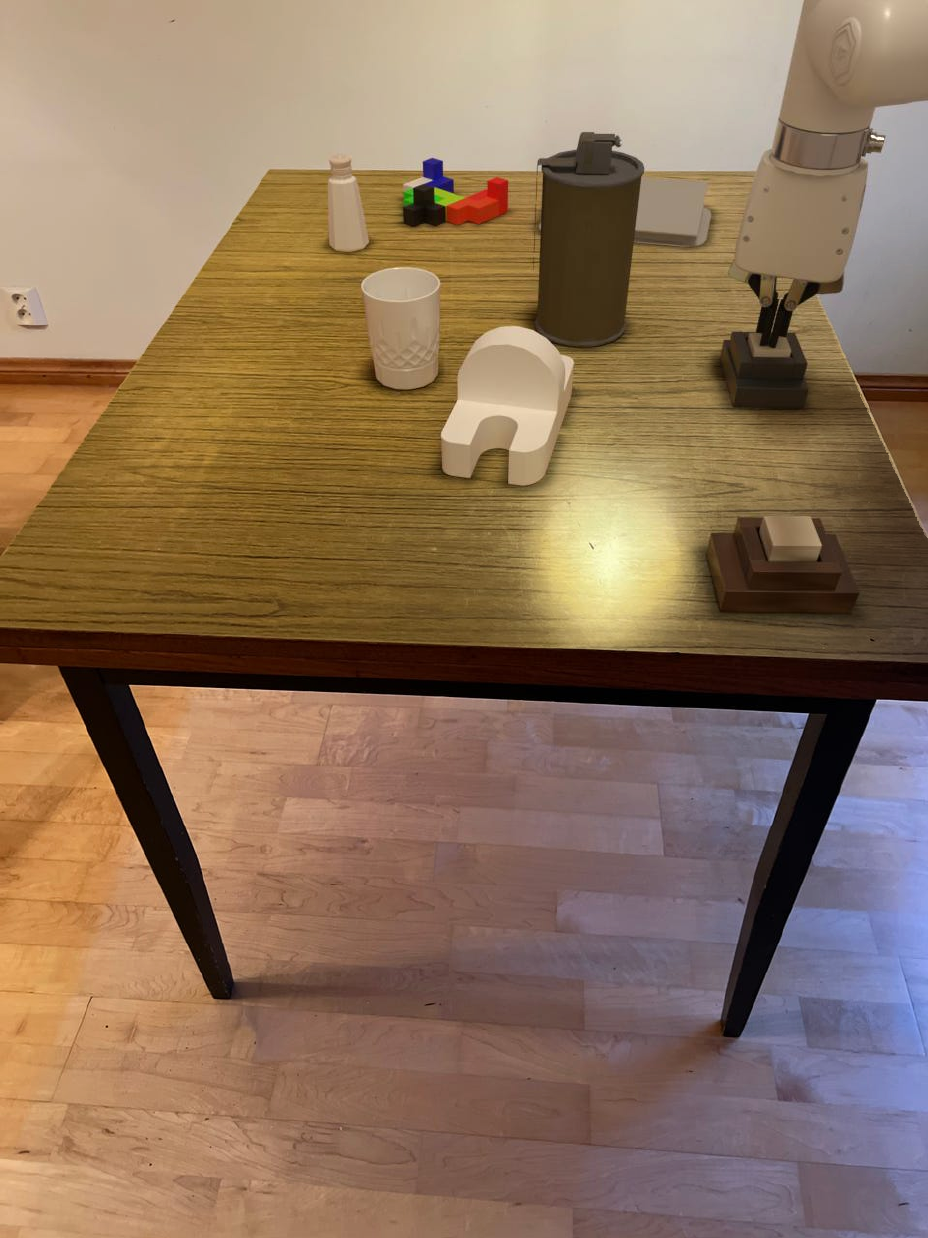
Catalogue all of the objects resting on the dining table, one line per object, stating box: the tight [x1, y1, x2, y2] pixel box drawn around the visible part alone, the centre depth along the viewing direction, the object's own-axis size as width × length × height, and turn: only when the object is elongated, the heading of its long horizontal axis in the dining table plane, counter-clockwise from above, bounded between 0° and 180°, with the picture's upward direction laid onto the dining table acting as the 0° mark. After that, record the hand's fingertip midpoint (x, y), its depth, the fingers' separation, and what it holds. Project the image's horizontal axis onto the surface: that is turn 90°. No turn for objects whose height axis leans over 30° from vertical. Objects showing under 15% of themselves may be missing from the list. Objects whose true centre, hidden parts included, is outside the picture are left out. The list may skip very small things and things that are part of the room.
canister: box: [532, 131, 645, 348], centre depth 95 cm, size 11×10×20 cm
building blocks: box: [402, 157, 509, 227], centre depth 126 cm, size 15×13×4 cm
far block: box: [719, 331, 810, 409], centre depth 91 cm, size 10×7×4 cm
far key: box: [747, 333, 791, 357], centre depth 90 cm, size 4×4×2 cm
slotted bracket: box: [440, 325, 575, 487], centre depth 83 cm, size 18×10×10 cm, turn 165°
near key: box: [759, 515, 822, 562], centre depth 67 cm, size 4×4×2 cm
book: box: [538, 176, 712, 248], centre depth 123 cm, size 15×23×4 cm, turn 74°
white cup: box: [360, 266, 441, 390], centre depth 91 cm, size 8×8×10 cm
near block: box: [706, 516, 860, 614], centre depth 69 cm, size 10×7×4 cm
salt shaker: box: [327, 154, 370, 253], centre depth 116 cm, size 5×5×11 cm
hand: (769, 340), depth 89 cm, fingers closed
